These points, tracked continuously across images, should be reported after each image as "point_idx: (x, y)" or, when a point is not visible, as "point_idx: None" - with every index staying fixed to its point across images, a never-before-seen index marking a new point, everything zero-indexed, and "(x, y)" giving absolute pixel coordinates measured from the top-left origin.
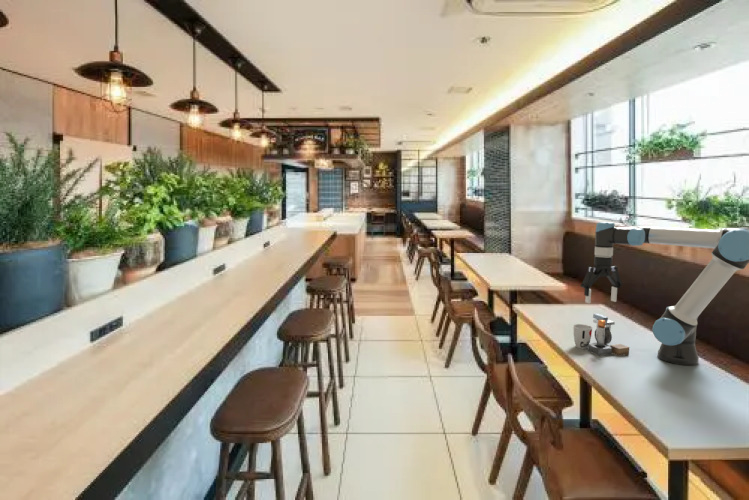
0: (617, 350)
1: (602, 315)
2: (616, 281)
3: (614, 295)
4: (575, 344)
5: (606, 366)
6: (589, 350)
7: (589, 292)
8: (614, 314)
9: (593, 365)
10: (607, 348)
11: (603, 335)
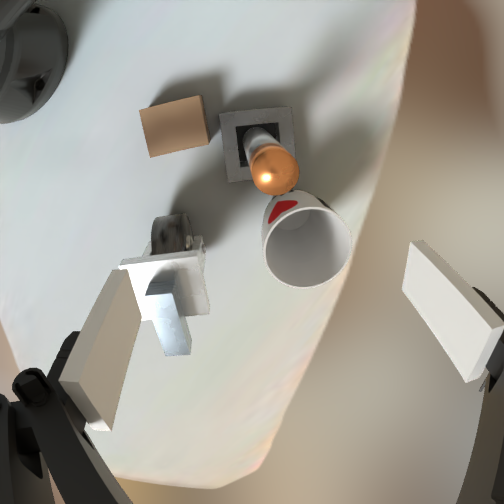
0: (201, 102)
1: (157, 326)
2: (40, 475)
3: (113, 320)
4: (314, 220)
5: (329, 6)
6: None
7: (483, 304)
8: None
9: (369, 27)
10: (245, 111)
11: (261, 137)
